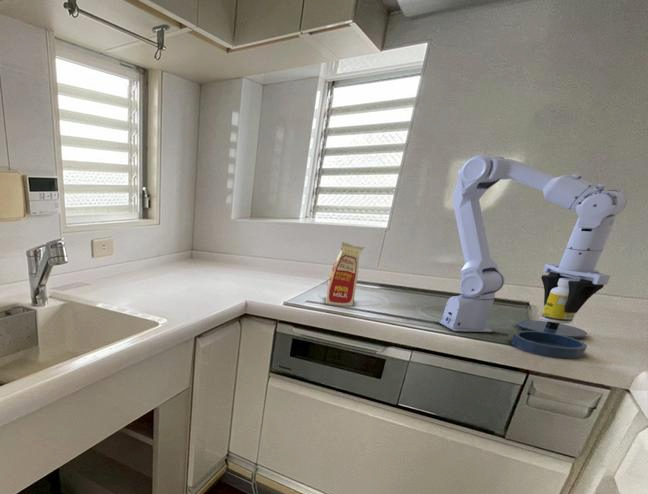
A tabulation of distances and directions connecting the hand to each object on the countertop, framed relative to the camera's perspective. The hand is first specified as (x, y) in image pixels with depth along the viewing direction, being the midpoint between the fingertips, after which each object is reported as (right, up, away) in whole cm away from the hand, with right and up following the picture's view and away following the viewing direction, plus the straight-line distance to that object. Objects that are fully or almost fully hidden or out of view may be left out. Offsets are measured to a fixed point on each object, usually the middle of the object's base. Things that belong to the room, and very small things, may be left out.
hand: (559, 309), depth 94 cm
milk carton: (-30, +8, +44) cm, 54 cm away
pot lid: (+12, -4, +14) cm, 19 cm away
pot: (-1, -9, +3) cm, 10 cm away
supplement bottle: (0, -3, +1) cm, 3 cm away
